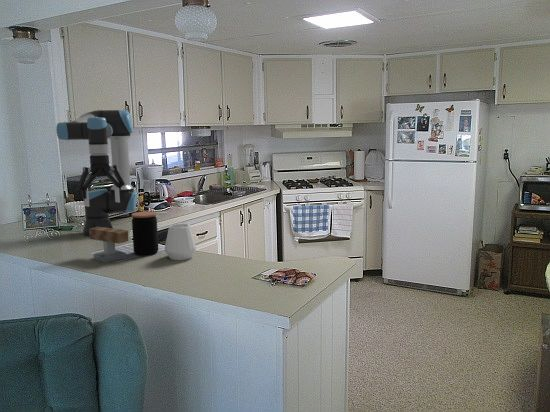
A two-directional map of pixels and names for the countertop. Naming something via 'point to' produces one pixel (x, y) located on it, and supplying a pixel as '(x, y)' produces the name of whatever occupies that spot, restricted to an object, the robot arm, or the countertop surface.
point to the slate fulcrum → (109, 253)
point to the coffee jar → (145, 233)
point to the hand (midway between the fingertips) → (102, 204)
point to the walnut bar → (108, 234)
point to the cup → (180, 242)
